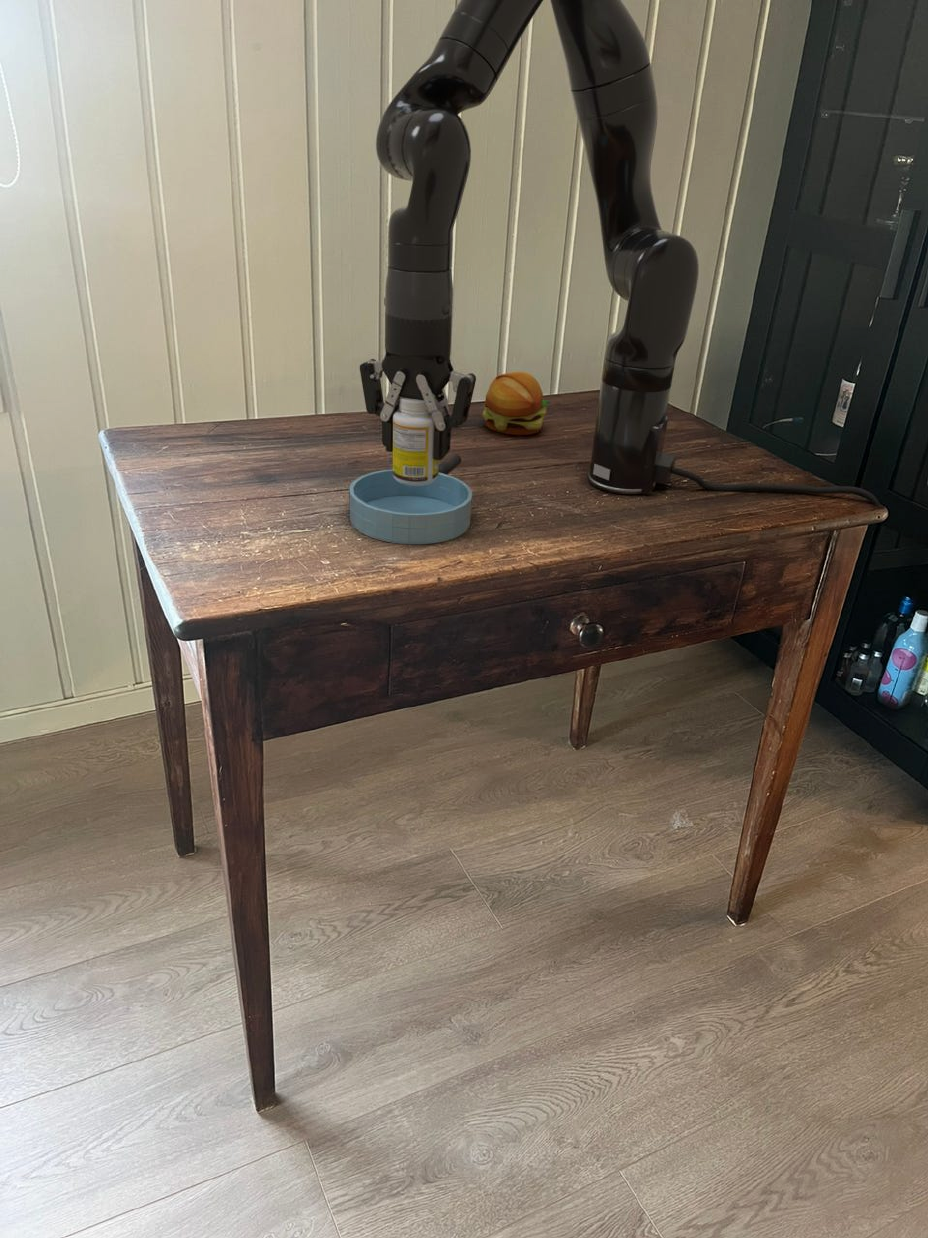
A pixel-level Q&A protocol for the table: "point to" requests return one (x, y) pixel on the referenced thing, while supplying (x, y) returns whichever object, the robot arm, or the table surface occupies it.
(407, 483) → the supplement bottle
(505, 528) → the table surface
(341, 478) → the table surface
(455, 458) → the pan handle
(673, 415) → the table surface
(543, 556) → the table surface
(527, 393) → the cheeseburger
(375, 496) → the pan
